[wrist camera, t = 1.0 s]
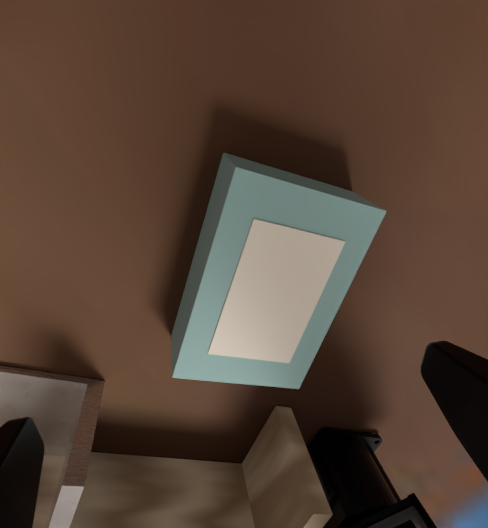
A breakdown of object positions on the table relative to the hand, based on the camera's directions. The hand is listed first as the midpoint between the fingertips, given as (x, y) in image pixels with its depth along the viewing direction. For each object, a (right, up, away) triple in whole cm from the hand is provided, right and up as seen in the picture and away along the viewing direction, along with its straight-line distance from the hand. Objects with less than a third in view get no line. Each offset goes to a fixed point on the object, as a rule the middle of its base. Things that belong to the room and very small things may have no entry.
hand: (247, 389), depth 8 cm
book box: (+1, +3, +14) cm, 14 cm away
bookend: (-14, -7, +15) cm, 22 cm away
